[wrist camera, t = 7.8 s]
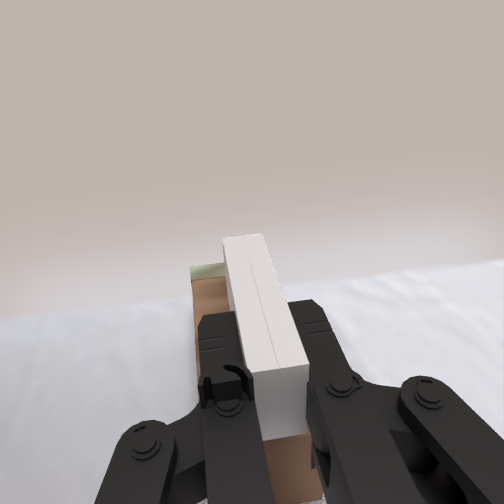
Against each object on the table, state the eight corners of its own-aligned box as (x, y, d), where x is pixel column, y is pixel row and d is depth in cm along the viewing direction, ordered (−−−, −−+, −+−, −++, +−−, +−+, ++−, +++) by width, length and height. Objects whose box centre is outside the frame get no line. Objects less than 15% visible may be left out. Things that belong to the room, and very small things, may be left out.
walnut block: (200, 453, 16) (190, 266, 27) (213, 520, 19) (198, 326, 30) (329, 431, 17) (268, 257, 28) (323, 499, 19) (269, 316, 30)
